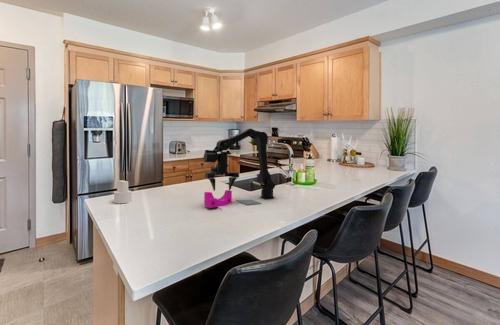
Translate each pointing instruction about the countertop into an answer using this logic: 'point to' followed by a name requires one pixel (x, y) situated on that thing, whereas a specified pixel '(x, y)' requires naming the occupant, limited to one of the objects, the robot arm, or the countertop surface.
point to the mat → (248, 202)
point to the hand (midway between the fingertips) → (221, 190)
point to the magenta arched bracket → (213, 202)
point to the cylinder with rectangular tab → (122, 192)
